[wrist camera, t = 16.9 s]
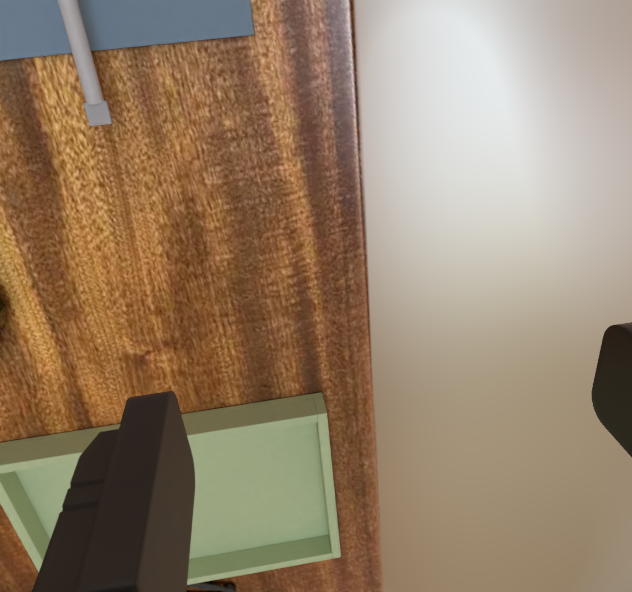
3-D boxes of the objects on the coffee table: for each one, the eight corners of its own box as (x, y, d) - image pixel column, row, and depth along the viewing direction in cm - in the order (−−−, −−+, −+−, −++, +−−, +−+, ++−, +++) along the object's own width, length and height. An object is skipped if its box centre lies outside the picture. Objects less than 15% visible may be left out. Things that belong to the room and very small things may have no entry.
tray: (322, 391, 43) (327, 413, 41) (336, 533, 51) (341, 557, 49) (-6, 443, 41) (-20, 468, 38) (66, 581, 49) (58, 608, 47)
